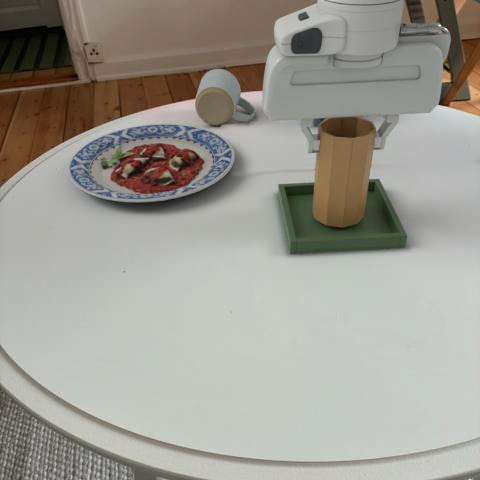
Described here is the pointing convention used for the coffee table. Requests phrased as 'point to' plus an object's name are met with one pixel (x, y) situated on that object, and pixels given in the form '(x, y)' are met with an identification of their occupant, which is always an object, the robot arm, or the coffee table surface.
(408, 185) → the coffee table surface
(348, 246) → the green tray
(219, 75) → the ceramic mug
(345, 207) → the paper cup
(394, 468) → the coffee table surface
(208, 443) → the coffee table surface
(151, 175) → the ceramic plate
